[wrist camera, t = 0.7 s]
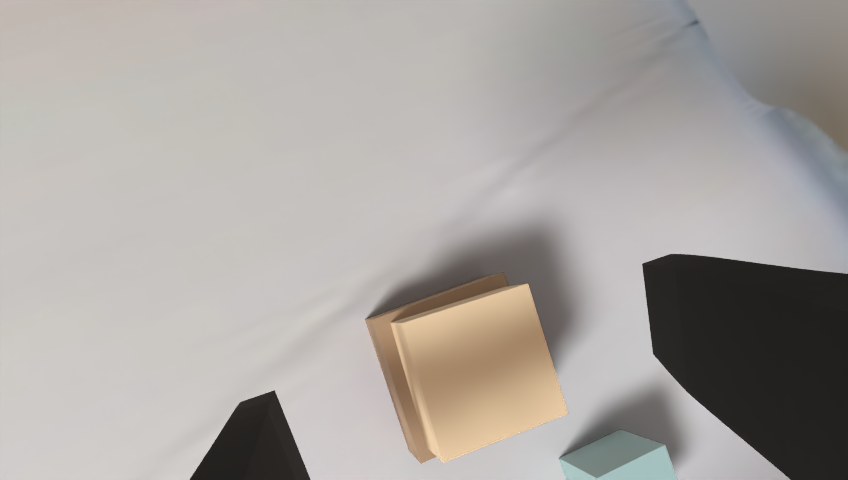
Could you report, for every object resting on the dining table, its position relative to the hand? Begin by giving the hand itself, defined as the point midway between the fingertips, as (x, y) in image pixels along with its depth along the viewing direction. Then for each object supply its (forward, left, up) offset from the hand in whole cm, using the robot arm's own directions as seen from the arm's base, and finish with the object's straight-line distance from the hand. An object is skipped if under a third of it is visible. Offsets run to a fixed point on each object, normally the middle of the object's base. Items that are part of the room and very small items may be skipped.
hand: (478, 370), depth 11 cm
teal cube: (-12, -10, -19) cm, 25 cm away
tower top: (-3, -4, -17) cm, 17 cm away
